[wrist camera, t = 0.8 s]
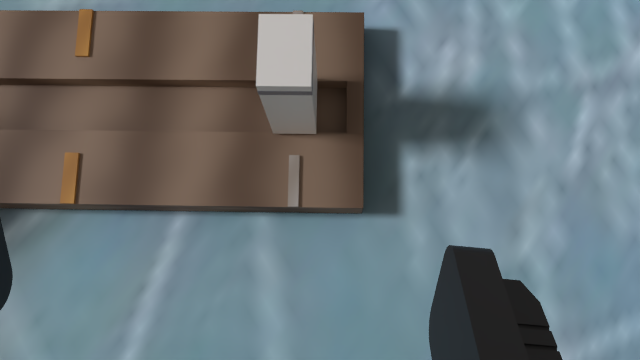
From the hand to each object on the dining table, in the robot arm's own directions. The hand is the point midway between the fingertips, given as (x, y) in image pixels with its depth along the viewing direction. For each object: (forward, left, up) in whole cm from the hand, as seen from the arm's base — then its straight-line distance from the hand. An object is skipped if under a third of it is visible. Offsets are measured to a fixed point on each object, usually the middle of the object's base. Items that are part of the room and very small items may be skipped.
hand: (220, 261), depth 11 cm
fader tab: (0, -11, -24) cm, 26 cm away
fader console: (+9, -11, -25) cm, 29 cm away
